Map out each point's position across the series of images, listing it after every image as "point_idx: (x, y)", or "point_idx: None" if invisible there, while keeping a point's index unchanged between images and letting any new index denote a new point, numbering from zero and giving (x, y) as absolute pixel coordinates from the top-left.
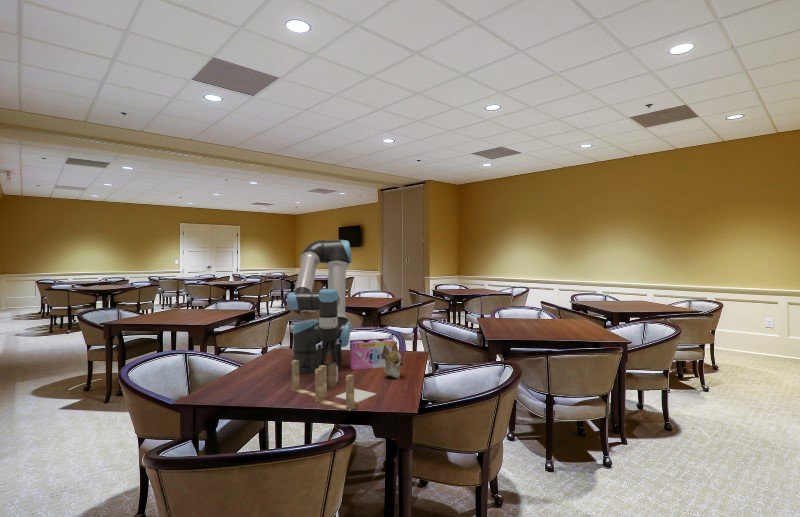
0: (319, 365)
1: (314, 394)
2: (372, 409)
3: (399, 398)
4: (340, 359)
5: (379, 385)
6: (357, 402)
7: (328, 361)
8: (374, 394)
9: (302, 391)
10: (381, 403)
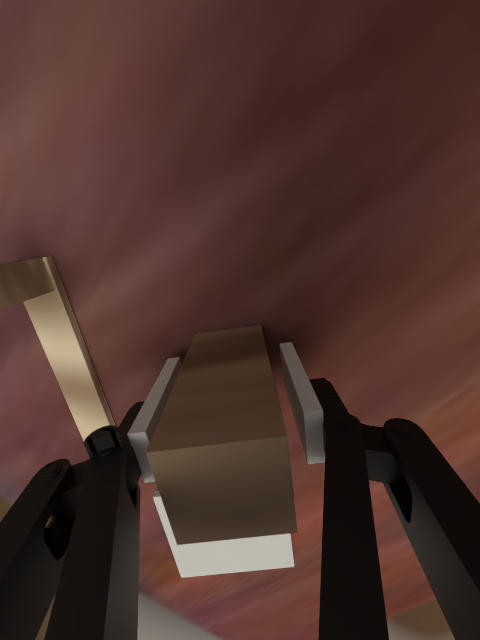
0: (51, 550)
1: (87, 423)
2: (183, 616)
3: (316, 612)
4: (400, 507)
5: None
6: (181, 573)
7: (257, 462)
8: (282, 567)
9: (53, 343)
10: (240, 605)
